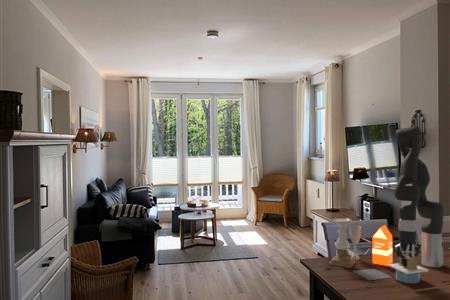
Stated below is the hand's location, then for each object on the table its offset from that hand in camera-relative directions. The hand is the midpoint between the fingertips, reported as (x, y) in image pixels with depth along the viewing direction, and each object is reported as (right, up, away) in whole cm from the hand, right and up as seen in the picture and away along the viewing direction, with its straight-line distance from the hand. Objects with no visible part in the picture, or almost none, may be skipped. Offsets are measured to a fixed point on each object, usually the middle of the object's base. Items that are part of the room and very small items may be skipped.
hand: (407, 265), depth 169 cm
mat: (-14, -7, +8) cm, 17 cm away
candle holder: (-22, -7, +24) cm, 33 cm away
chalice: (-13, -7, +33) cm, 36 cm away
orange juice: (-1, -7, +25) cm, 26 cm away
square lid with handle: (0, -1, 0) cm, 1 cm away
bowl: (0, -7, 0) cm, 7 cm away
